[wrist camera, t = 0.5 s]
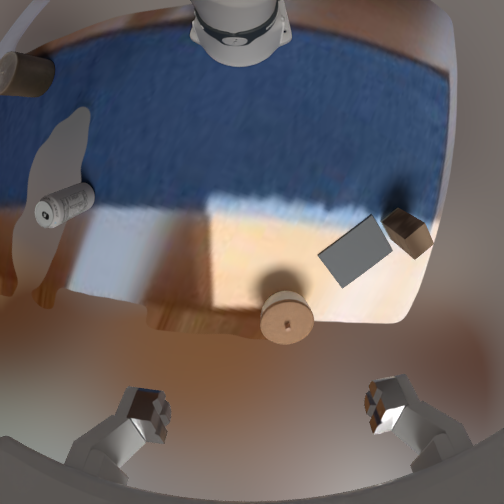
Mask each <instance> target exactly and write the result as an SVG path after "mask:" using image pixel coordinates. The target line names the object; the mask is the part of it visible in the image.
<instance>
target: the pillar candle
mask: <svg viewBox="0 0 504 504" xmlns="http://www.w3.org/2000/svg"><path fill="white" fill-rule="evenodd" d="M54 74H55V66H54V63H53V62H52V61H51V60H48V59H44V58H40V57H36V56H32V55H27V54H23V53H18V52H13V51H11V52H7V53H6V54H5V55H4V56H3V57H2V59H1V60H0V95H10V96H24V97H39V96H41V95H43V94H44V93H45V92H46V91H47V90H48V88H49V87H50V85H51V84H52V81H53V79H54Z"/></svg>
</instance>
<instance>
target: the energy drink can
mask: <svg viewBox="0 0 504 504" xmlns="http://www.w3.org/2000/svg"><path fill="white" fill-rule="evenodd" d="M94 198H95V195H94V191H93V189H92V187H91V186H90V185H88V184H87V183H79V184H76V185H74V186H71V187H68V188H65V189H62V190H59V191H57V192H54V193H52V194H49V195H47V196H44V197H43V198H42V199H41V200H40V202H39V203H37V205H36V207H35V217H36V220H37V222H38V224H39V225H40V226H42V227H44V228H47V227H49V228H54V227H56V226H58V225H60V224H61V223H63V222H65V221H67V220H69V219H71V218H72V217H74V216H76V215H78V214H80V213H82V212H84V211H86V210H88V209H89V208H91V207H92V205H93V203H94Z"/></svg>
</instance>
